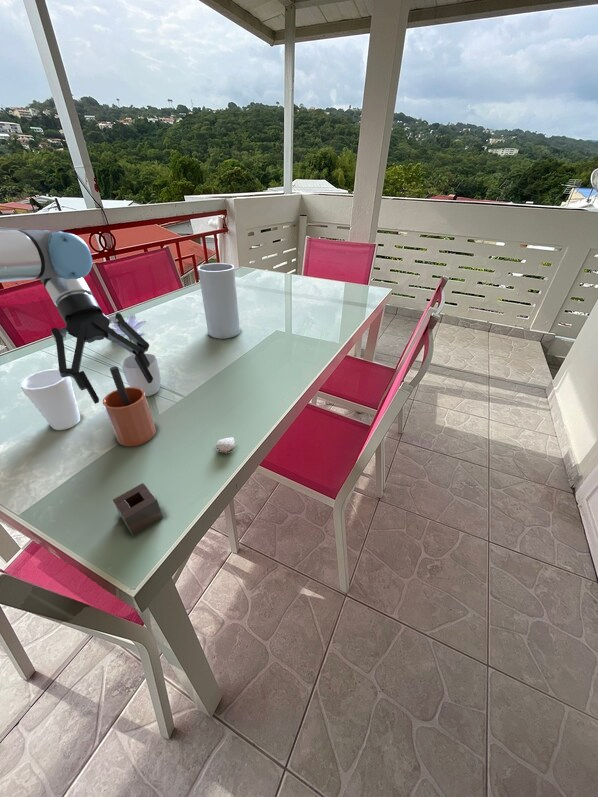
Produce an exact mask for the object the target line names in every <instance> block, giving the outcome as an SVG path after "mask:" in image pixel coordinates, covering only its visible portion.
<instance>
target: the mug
mask: <svg viewBox="0 0 598 797" xmlns="http://www.w3.org/2000/svg"><path fill="white" fill-rule="evenodd" d="M144 354H145V356H146V357H147V359H148V361H149V363H150V366H149V367H148V370H149V372H150V373H151V375H152V377H153V380H152V383H149V384H148V382H147V380H146V379H145V377H144V375H143V373H142V371H141V370H140V368H139V366H138V364H137V362H136V361H135V355H134V354H132V355H129V356H127V357H125V358H124V359H123V360H122V361H121V364H120V365H121V370H122V372H123V375H124V377H125V381H126V383H127V385H128V387H137V388H141V389H142V390H143V391H144V392H145V395H146V397H151V396H153V395H156V394H157V393H158V392H159V391H160V389H161V383H162V381H161V379H162V378H161V371H160V370H161V369H160V366H159V363H158V358H157V357H156V356H155V355H154V354H152V353H147V352H145V353H144Z"/></svg>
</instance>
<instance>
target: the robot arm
mask: <svg viewBox="0 0 598 797" xmlns="http://www.w3.org/2000/svg"><path fill="white" fill-rule="evenodd" d="M92 268H93V257H92V253H91V250H90V248H89V246H88V244H87V243H86V242H85V241H84V239H83V238H81V237H80V236H78V235H76V234H74V233H71V232H64V231H62V230H47V229H41V230H39V229H27V228H26V229H25V228H14V227H4V226H3V227H2V226H0V283H9V282H20V281H27V280H40V282H41V283H42V285H43V286H44V289H45V290H46V291H47V293H48V295H49V297H50V298H51V300H52V303H53V304H54V306H56V310H57V312H58V314H59V315H60V317H61V319H62V321H63V322H64V324H65V326H64V327H62V328H57V327H53V328H51V330H50V331H51V336H52V338H53V340H54V342H55V344H56V354H57V363H58V369H59V372H60V376H61V377H70V378H73V379H74V381H75V383H76V385H77V387H78V389H79V390H81V391H84V390H86V391H87V392H88V394H89V397H90V398H91V400H92V401H93V403H94V404H95V405H96V404H98V403H99V402H100V398H99V396H98V394H97V392H96V390H95V389H94V387H93V385H92V384H91V381H90V380H89V378H88V376H87V374H86V373H85V371H84V370H80V369H81V364H82V359H83V355H84V349H85V345H86V343H88V344H91V343H93V342H95V341H102V340H104V339H106V340H107V341H110V342H113V343H115V344H116V345H118V346H120V348H123V349H124V350H126V351H128V352H129V353H131V354H132V355H135V361H136V362H137V364H138V366H139V368H140V370H141V371H142V373H143V375H144V377H145V379H146V380H147V382H148V384H149V383H152V380H153V377H152V375H151V373H150V372H149V370H148V367H149V366H150V363H149V361H148V359H147V357H146V356H145V354H144V353H147V352H148V351H149V348H150V344H149V342H147V341H146V339H145V338H143V337H142V336H141V335H139V334H138V333H137V330H134V329H132V328H131V327H130V326H129V325H128V324H127V323H126V321H125V318H124V317H123V315H122V314H121V313H120V312H117V313H115V315H112V316H108V315H105V313H104V312H103V310H102V308H101V307H100V305H99V303H98V301H97V299H96V298H95V297H94V295H93V292H92V290H91V289H90V287H89V285H88V283H87V281H86V280H85V278H86V276H87V275H88V274H89V273H90V272H91V270H92ZM110 324H112V325H115V326H118V327H119V328H120V330H121V331H122V332H123V333H125V334H126V335H125V336H126V337H128V338H126V337H125V336H124V337H123V336H121V335H119V334H120V333H116V332H115V331H114V330H113V329H114V328H112V327H110ZM111 328H112V329H111ZM67 335H70V336H72V337H73V338H76V344H75V349H74V353H73V357H72V363H71V367H70V368H69V367H67V359H66V358H67V357H66V350H65V342H64V340H66V339H67ZM129 338H130V339H131V340H132V342H133V343H132V342H131V341H130V339H129Z"/></svg>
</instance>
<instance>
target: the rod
mask: <svg viewBox="0 0 598 797" xmlns="http://www.w3.org/2000/svg"><path fill="white" fill-rule="evenodd" d="M109 370H110V374H111V376H112V377H111V378H112V379H113V383H114V385H115V388H116V390H117V391H118V394H119V396H120V399H121V402H122V405H123V407H125V406H129V405H131V404H130V401H129V398H128V395H127V392H126V389H125V388H126V387H125V386H126V385H125V384H124V380H123V377H122V374H121V371H120V369H119V367H118V366H115V365H114V366H111V367H110V368H109Z"/></svg>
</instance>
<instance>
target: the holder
mask: <svg viewBox="0 0 598 797" xmlns="http://www.w3.org/2000/svg"><path fill="white" fill-rule="evenodd" d="M112 501H113V504H114V505H115V508H116V510H117V512H118V514H119V516H120V518H121V520H122V522H123V523H124V524H125V526H126V527H127V529H128V531H129V532H130V534H131V536H132V537H134V536H136V535H137V534H139V533H141V532H142V531H144V530H146V528H148V527H150V526H152V525H153V524H154V523H156V522H158V521H159V520H161V519H162V518H163V517H164V516H163V513H162V510H161V508H160V505H159V501H158V499H157V498H156V496H155V495H154V494H153V493H152V492H151V490H150V489H149V488H148V486H147V485H146V484H145V482H142V483H140V484H138V485H136V486H134V487H133V488H131V489H129V490H127V491H125V492H124V493H122V494H120V495H119V496H117V497H115V498H112Z"/></svg>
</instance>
